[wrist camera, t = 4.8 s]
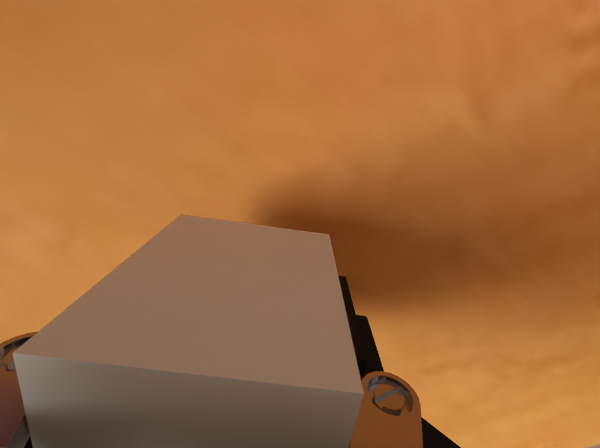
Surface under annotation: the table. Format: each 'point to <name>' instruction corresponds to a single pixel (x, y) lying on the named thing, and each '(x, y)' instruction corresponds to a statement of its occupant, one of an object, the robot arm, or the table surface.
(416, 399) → the robot arm
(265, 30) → the table surface
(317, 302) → the white rectangular block
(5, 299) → the table surface
